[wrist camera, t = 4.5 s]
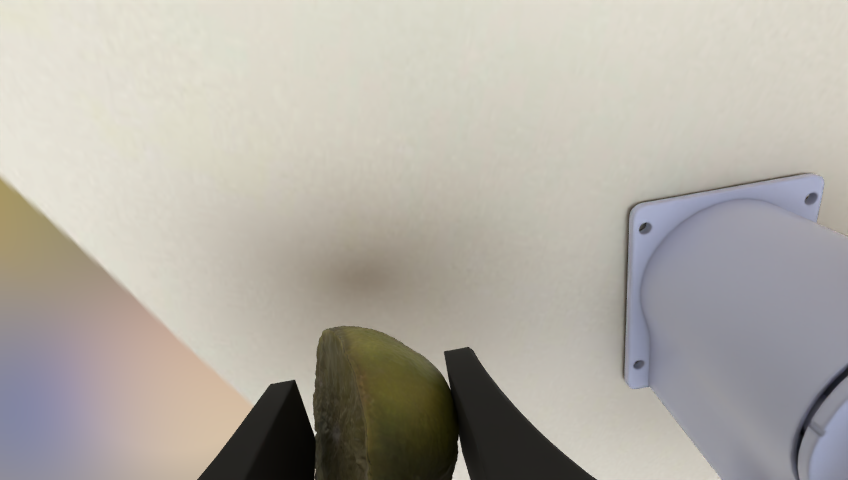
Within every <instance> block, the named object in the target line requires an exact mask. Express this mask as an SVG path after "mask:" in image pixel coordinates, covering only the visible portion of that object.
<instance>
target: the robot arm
mask: <svg viewBox="0 0 848 480" xmlns="http://www.w3.org/2000/svg"><path fill="white" fill-rule="evenodd" d="M823 189H824V179H823V177H821V176H819V175H816V174H813V173H808V174H802V175H796V176H791V177H785V178H779V179H774V180H768V181H762V182H757V183H751V184H745V185H740V186H734V187H729V188H723V189H717V190H712V191H706V192H700V193H695V194H689V195H683V196H678V197H672V198H666V199H661V200H655V201H650V202H644V203H640V204H637V205H636V206H635V207H634V208H633V209H632V210H631V212H630V217H629V248H628V280H627V311H626V343H625V374H624V379H625V382H626V383H627V385H628V386H629V387H630V388H632V389H639V388H644V387H650V388H651V389H652V390H653V392H654V393H655V394H656V395H657V397H658V398H659V399H660V401H661V402H662V403H663V404H664V406H665V407H666V408H667V410H668V411H669V412H670V414H671V415H672V416H673V417H674V419H675V420H676V421H677V423H678V424H679V425H680V426H681V428H682V429H683V430H684V432H685V433H686V434H687V436H688V437H689V438H690V439H691V441H692V442H693V443H694V445H695V446H696V447H697V448H698V450H699V451H700V452H701V454H702V455H703V456H704V457H705V459H706V460H707V461H708V463H709V464H710V465H711V467H712V468H713V469H714V470H715V472H716V473H717V474H718V476H719V477H720V478H721V479H722V480H848V236H845V235H843V234H841V233H839V232H836V231H834V230H832V229H829V228H827V227H825V226H822V225H820V224H818V223H816V222H817V218H818V213H819V208H820V203H821V199H822V194H823ZM808 195H809V197H808V198H807V199H806V197H807V196H808ZM805 199H806V200H805ZM643 223H647V224H646V227H645V228H644V229H643V230H641V231H639V228H640V226H641V225H642V224H643ZM444 355H445V360H446V366H447V372H448V377H449V383H450V389H451V393H452V398H453V401H454V406H455V410H456V413H457V418H458V424H459V437H460V442H461V447H462V452H463V456H464V459H465V463H466V466H467V469H468V473H469V476H470V479H471V480H597V479H595V478H594V477H592V476H591V475H590V474H588V473H587V472H586V471H584V470H583V469H582V468H581V467H580V466H578V465H577V464H576V463H575V462H573V461H572V460H571V459H570V458H568V457H567V456H566V455H565V454H564V453H563V452H561V451H560V450H559V449H558V448H557V447H556V446H555V445H553V444H552V443H551V442H550V441H549V440H548V439H547V438H546V437H545V436H544V435H543V434H542V433H541V432H539V431H538V430H537V429H536V428H535V427H534V426H533V425H532V424H531V423H530V422H529V421H528V419H527V418H526V417H525V416H524V415H523V414H522V413H521V412H520V411H519V410H518V409H517V408H516V407H515V406H514V405H513V403H512V402H511V401H510V400H509V399H508V398H507V396H506V395H505V394H504V393H503V392H502V391H501V389H500V388H499V387H498V386H497V385H496V383H495V382H494V381H493V379H492V378H491V377H490V375H489V374H488V373H487V371H486V370H485V369H484V367H483V366H482V364H481V363H480V361H479V360H478V358H477V356H476V355H475V353H474V351H473V350H472V349H471V348H469V347H466V348H460V349H455V350H450V351H444ZM638 360H639V362H638V363H635V362H636V361H638ZM634 363H635V364H634ZM315 454H316V439H315V436H314V433H313V430H312V427H311V425H310V422H309V419H308V416H307V413H306V410H305V407H304V404H303V401H302V399H301V396H300V393H299V390H298V387H297V384H296V381H295V380H291V381H285V382H280V383H275V384H270V386H269V387H268V388H267V390H266V391H265V392H264V394H263V395H262V396H261V398H260V399H259V400H258V402H257V403H256V404H255V406H254V407H253V408H252V410H251V411H250V413H249V414H248V415H247V417H246V418H245V419H244V421H243V422H242V424H241V425H240V426H239V428H238V429H237V430H236V432H235V433H234V434H233V436H232V437H231V438H230V440H229V441H228V442H227V443H226V445H225V446H224V447H223V449H222V450H221V451H220V453H219V454H218V455H217V457H216V458H215V459H214V460H213V461H212V463H211V464H210V465H209V466H208V467H207V469H206V470H205V471H204V472H203V473H202V475H201V476H200V477H199V478H198V479H197V480H314V473H315Z"/></svg>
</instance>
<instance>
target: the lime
mask: <svg viewBox="0 0 848 480" xmlns="http://www.w3.org/2000/svg"><path fill="white" fill-rule="evenodd" d="M316 356H317V365H316V373H315V374H316V379H315V392H314V394H313V409H314V413H313V415H314V419H315V431H316V432H317V434H316V436H315V439H316V454H315V469H316V473H315V480H452V475H453V472H454V469H455V464H456V462H457V457H458V444H457V441H458V437H459V424H458V418H457V413H456V410H455V406H454V401H453V398H452V393H451V390H450V388H449V386H448V384H447V382H446V380H445V378H444V377H443V375H442V374H441V372H440V371H439V370H438V369H437V368H436V367H435V366H434V365H433V364H432V363H431V362H430V361H429V360H427V359H426V358H425V357H424V356H422V355H421V354H419V353H417V352H415V351H413V350H412V349H410V348H409V347H407V346H405V345H404V344H403V343H402V342H400V341H398V340H397V339H395V338H393V337H391V336H389V335H387V334H384V333H382V332H378V331H376V330H373V329H368V328H362V327H355V326H341V327H334V328H329V329H326V330H324V331H323V332H322V336H321V337H320V339H319V344H318V347H317V355H316Z"/></svg>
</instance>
